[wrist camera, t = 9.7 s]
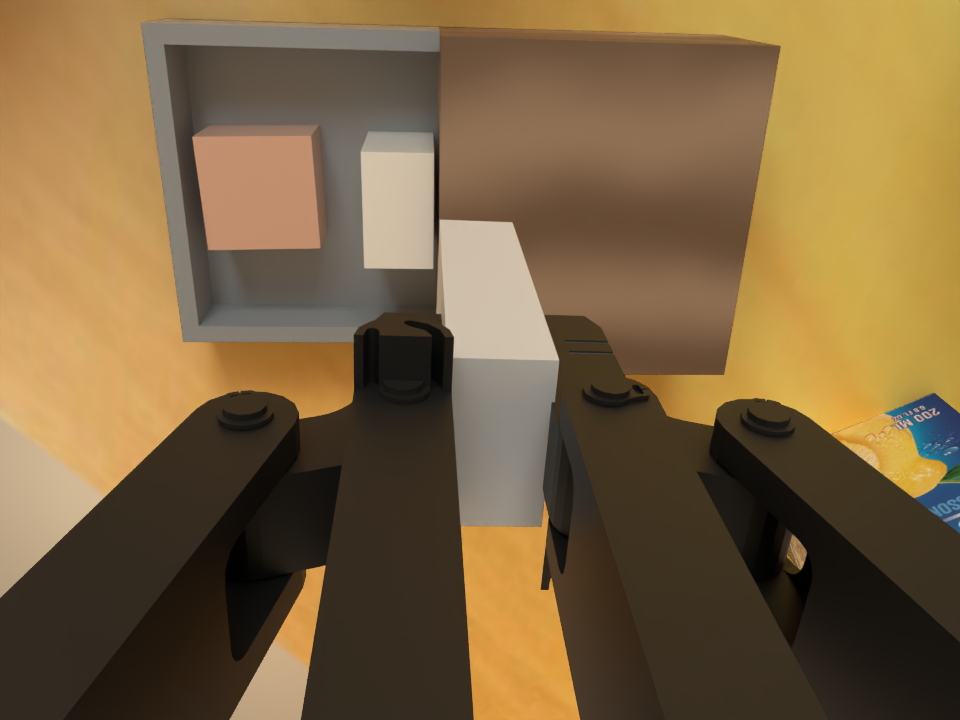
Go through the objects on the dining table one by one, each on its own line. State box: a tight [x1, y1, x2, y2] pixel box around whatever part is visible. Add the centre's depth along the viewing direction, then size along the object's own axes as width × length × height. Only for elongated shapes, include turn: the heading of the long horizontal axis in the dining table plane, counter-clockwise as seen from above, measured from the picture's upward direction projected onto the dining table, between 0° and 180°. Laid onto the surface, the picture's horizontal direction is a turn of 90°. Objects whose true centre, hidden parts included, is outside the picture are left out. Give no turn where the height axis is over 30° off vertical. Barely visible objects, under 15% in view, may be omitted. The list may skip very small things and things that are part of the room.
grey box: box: [141, 19, 440, 342], centre depth 38 cm, size 14×12×4 cm
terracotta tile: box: [192, 125, 328, 250], centre depth 37 cm, size 5×5×3 cm
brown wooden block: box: [437, 27, 781, 375], centre depth 37 cm, size 14×13×7 cm
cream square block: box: [361, 131, 434, 269], centre depth 37 cm, size 5×5×3 cm
